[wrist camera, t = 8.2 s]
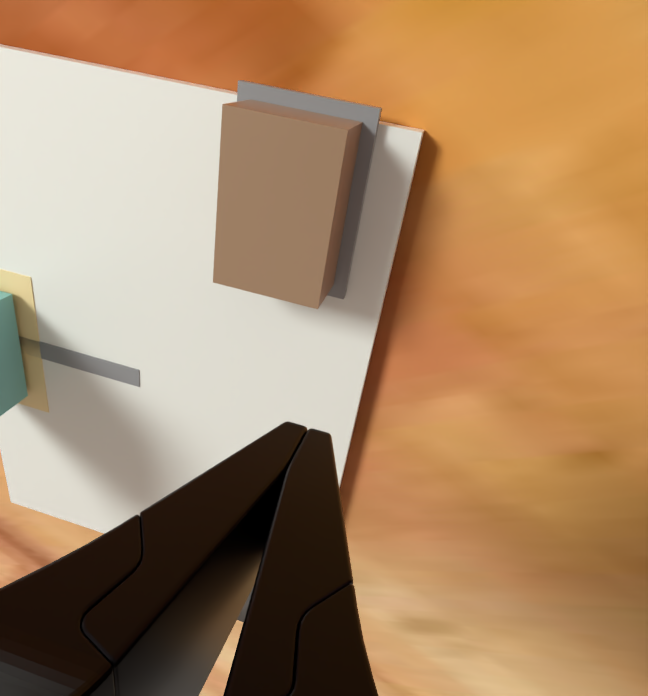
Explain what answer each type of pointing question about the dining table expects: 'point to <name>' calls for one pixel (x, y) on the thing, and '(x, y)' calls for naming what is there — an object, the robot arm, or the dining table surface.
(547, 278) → the dining table surface
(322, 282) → the console
